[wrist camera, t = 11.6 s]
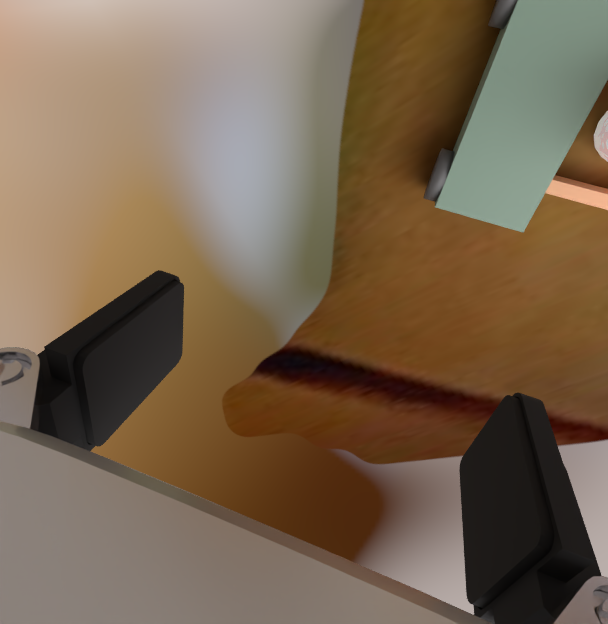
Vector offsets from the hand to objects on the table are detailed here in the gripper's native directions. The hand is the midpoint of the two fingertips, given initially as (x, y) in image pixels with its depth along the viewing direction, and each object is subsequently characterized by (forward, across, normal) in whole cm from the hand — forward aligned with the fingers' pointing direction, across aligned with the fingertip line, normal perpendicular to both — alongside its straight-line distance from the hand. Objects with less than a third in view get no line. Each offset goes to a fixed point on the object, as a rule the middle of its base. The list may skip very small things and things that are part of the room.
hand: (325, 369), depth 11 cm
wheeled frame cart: (+28, -11, -7) cm, 31 cm away
